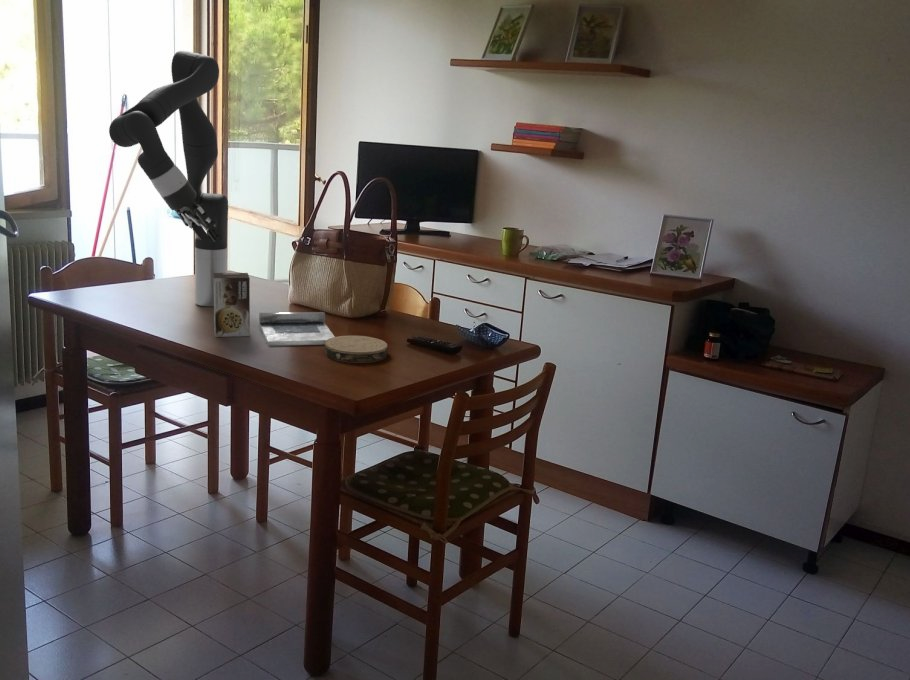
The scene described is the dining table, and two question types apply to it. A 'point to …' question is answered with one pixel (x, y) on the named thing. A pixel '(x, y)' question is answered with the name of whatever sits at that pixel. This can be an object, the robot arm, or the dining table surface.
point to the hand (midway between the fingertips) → (211, 238)
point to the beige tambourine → (355, 349)
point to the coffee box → (231, 304)
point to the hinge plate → (294, 328)
